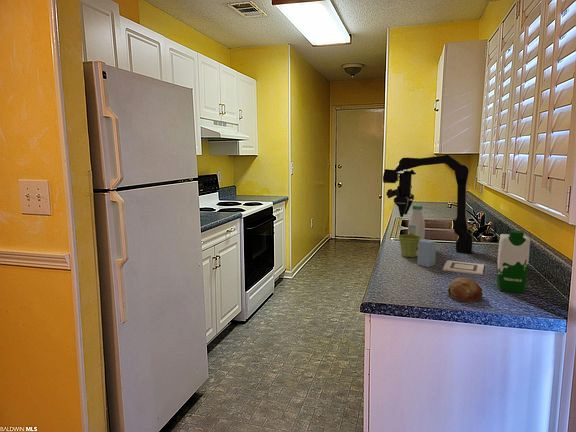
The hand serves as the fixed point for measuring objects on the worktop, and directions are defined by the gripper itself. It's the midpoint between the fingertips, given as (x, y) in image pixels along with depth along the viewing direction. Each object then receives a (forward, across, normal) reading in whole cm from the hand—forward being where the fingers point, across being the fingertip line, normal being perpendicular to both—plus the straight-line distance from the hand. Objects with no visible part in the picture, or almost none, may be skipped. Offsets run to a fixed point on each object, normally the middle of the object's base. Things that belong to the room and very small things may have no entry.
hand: (403, 215), depth 201 cm
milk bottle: (+15, 0, +6) cm, 16 cm away
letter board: (+15, +30, +30) cm, 45 cm away
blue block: (+15, +32, +16) cm, 39 cm away
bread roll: (+15, +65, +33) cm, 74 cm away
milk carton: (+15, +50, +46) cm, 70 cm away
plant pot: (+15, +20, +7) cm, 26 cm away
